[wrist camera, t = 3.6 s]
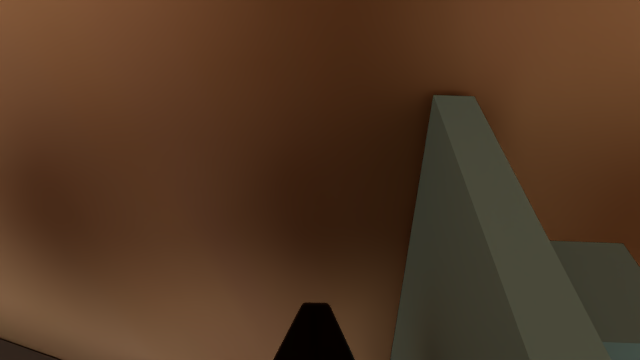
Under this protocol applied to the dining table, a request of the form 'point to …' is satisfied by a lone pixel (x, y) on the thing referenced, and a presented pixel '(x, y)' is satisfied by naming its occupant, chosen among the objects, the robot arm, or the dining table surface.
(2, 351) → the large grey box
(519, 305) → the grey-green bar
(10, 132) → the dining table surface
